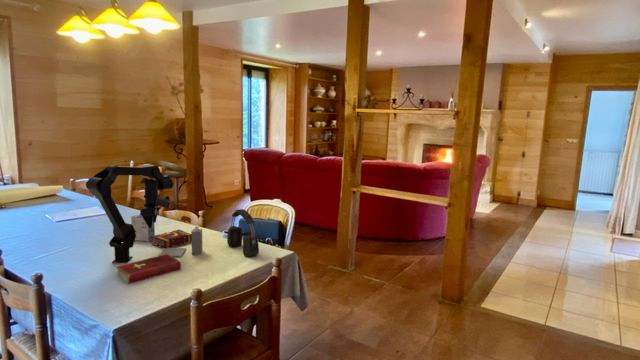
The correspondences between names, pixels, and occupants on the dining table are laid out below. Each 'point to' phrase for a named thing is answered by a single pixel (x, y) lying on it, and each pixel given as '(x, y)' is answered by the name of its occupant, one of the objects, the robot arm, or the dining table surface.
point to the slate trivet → (173, 252)
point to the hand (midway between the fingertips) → (152, 225)
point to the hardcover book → (148, 268)
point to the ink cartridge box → (142, 228)
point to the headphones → (249, 240)
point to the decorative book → (172, 239)
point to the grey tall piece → (196, 241)
